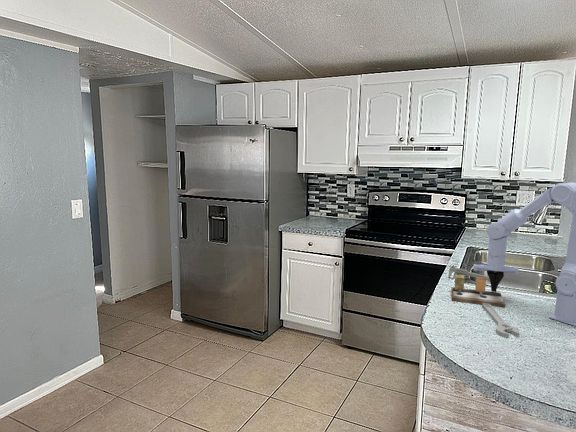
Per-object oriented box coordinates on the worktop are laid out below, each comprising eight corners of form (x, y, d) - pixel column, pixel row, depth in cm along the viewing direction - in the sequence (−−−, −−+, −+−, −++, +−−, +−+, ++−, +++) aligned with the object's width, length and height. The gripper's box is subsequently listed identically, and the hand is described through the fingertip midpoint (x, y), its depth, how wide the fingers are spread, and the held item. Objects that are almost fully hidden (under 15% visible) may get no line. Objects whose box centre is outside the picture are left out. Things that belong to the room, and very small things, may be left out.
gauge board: (500, 296, 151) (501, 278, 150) (504, 307, 140) (506, 288, 139) (451, 290, 157) (452, 273, 156) (451, 300, 146) (453, 282, 145)
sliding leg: (484, 289, 152) (485, 277, 151) (486, 296, 144) (487, 284, 144) (475, 288, 153) (476, 276, 152) (476, 295, 145) (478, 283, 145)
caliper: (448, 279, 172) (449, 264, 171) (448, 278, 173) (449, 264, 172) (501, 283, 167) (502, 268, 166) (500, 282, 168) (501, 267, 167)
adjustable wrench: (480, 306, 142) (481, 302, 142) (500, 308, 141) (501, 304, 140) (498, 337, 118) (498, 331, 118) (522, 340, 117) (523, 334, 116)
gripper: (517, 254, 148) (513, 289, 150) (473, 250, 153) (471, 285, 155) (520, 258, 142) (517, 296, 144) (475, 255, 147) (472, 291, 149)
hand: (493, 290), depth 149 cm, fingers closed
